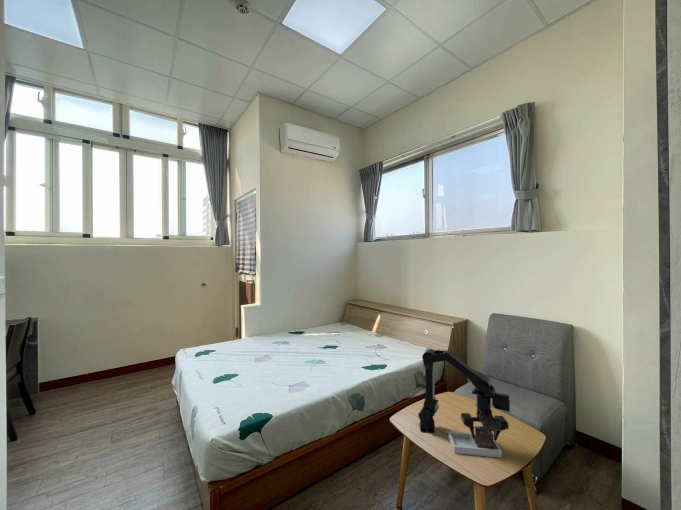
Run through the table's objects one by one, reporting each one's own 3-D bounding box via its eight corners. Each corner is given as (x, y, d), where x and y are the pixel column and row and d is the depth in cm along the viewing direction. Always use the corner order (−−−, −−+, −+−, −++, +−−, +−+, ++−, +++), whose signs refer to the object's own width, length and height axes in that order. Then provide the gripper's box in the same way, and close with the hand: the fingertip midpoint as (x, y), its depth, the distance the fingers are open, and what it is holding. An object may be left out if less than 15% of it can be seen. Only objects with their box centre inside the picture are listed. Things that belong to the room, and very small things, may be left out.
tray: (454, 453, 120) (454, 446, 120) (448, 437, 130) (448, 431, 130) (501, 457, 117) (501, 451, 117) (491, 441, 127) (491, 435, 127)
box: (494, 451, 119) (493, 435, 119) (479, 450, 120) (479, 433, 120) (488, 442, 125) (488, 426, 125) (475, 441, 126) (474, 425, 126)
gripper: (467, 413, 116) (468, 449, 116) (514, 416, 114) (515, 454, 113) (460, 399, 127) (460, 433, 127) (502, 402, 125) (503, 437, 124)
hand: (484, 439), depth 123 cm, fingers open, 9 cm apart
